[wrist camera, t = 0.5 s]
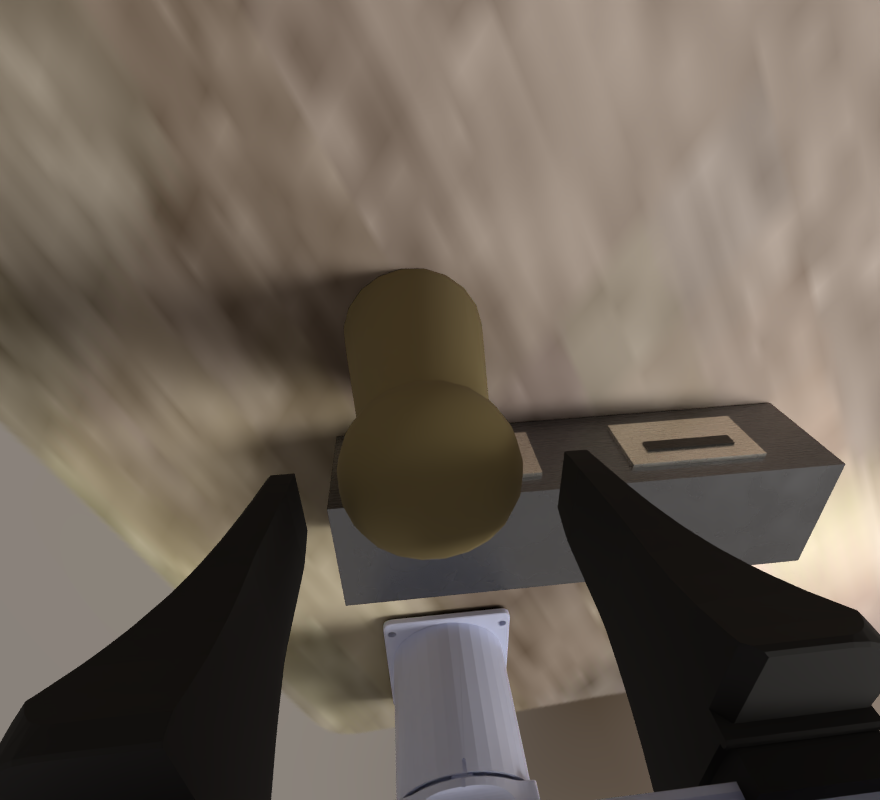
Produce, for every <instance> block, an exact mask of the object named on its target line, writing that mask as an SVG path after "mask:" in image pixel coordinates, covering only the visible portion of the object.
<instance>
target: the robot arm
mask: <svg viewBox="0 0 880 800" xmlns="http://www.w3.org/2000/svg"><path fill="white" fill-rule="evenodd" d="M558 511H559V515H560V518H561V522H562V525H563V529H564V532H565V535H566V538H567V541H568V544H569V546H570V548H571V551H572V553H573V555H574V557H575V560H576V562H577V564H578V567H579V569H580V571H581V573H582V576H583V578H584V580H585V582H586V584H587V587H588V589H589V591H590V593H591V596H592V598H593V600H594V602H595V605H596V607H597V609H598V611H599V613H600V616H601V618H602V621H603V623H604V626H605V629H606V631H607V634H608V637H609V640H610V643H611V646H612V649H613V652H614V655H615V658H616V661H617V664H618V668H619V671H620V674H621V677H622V680H623V684H624V687H625V690H626V693H627V697H628V700H629V703H630V706H631V710H632V713H633V717H634V720H635V724H636V727H637V731H638V734H639V738H640V741H641V745H642V748H643V752H644V756H645V760H646V763H647V767H648V771H649V775H650V779H651V783H652V787H653V790H654V792H653V793H645V794H637V795H629V796H622V797H614V798H606V799H599V800H880V731H879V730H880V716H879V714H878V713H877V712H876V711H875V709H874V708H873V707H872V706H871V705H872V703H873V702H874V701H875V699H876V698H877V697H878V696H879V694H880V634H879V633H878V632H877V631H876V630H875V629H874V628H873V627H872V625H871V624H870V623H869V622H868V621H867V620H866V619H865V618H864V617H863V616H862V615H861V614H860V613H859V612H858V611H857V610H855V609H852V608H849V607H847V606H844V605H842V604H839V603H836V602H834V601H831V600H829V599H826V598H823V597H821V596H818V595H816V594H813V593H811V592H808V591H806V590H803V589H801V588H798V587H796V586H794V585H792V584H790V583H787V582H785V581H783V580H781V579H778V578H776V577H774V576H772V575H770V574H768V573H766V572H763V571H761V570H759V569H757V568H755V567H753V566H751V565H749V564H747V563H746V562H744V561H742V560H740V559H738V558H736V557H734V556H732V555H730V554H729V553H727V552H725V551H723V550H721V549H720V548H718V547H716V546H714V545H713V544H711V543H709V542H708V541H706V540H705V539H703V538H701V537H700V536H698V535H696V534H695V533H693V532H692V531H690V530H688V529H687V528H685V527H684V526H682V525H681V524H679V523H678V522H676V521H675V520H674V519H672V518H671V517H670V516H668V515H667V514H665V513H664V512H663V511H661V510H660V509H658V508H657V507H656V506H654V505H653V504H652V503H650V502H649V501H648V500H646V499H645V498H644V497H643V496H641V495H640V494H639V493H638V492H636V491H635V490H634V489H633V488H631V487H630V486H629V485H628V484H627V483H625V482H624V481H623V480H622V479H621V478H619V477H618V476H617V475H616V474H615V473H614V472H612V471H611V470H610V469H609V468H608V467H607V466H605V465H604V464H603V463H602V462H601V461H600V460H599V459H597V458H596V457H595V456H594V455H593V454H591V453H590V452H589V451H588V450H575V451H565V452H564V460H563V468H562V476H561V484H560V492H559V500H558ZM306 541H307V526H306V522H305V518H304V513H303V509H302V505H301V500H300V496H299V491H298V487H297V483H296V478H295V474H284V475H272V476H270V477H269V478H268V479H267V480H266V482H265V483H264V485H263V486H262V487H261V489H260V490H259V491H258V493H257V494H256V496H255V497H254V498H253V500H252V501H251V502H250V504H249V505H248V506H247V508H246V509H245V510H244V512H243V513H242V514H241V516H240V517H239V518H238V519H237V521H236V522H235V523H234V524H233V526H232V527H231V528H230V529H229V531H228V532H227V533H226V535H225V536H224V537H223V538H222V539H221V541H220V542H219V543H218V544H217V545H216V546H215V547H214V549H213V550H212V551H211V552H210V553H209V554H208V555H207V556H206V558H205V559H204V560H203V561H202V562H201V563H200V564H199V565H198V566H197V568H196V569H195V570H194V571H193V572H192V573H191V574H190V575H189V576H188V577H187V578H186V579H185V580H184V581H183V582H182V583H181V584H180V585H179V586H178V587H177V588H176V589H175V590H174V591H173V592H172V593H171V594H170V595H169V596H167V597H166V598H165V599H164V600H163V601H162V602H161V603H159V604H158V605H157V606H156V607H155V608H154V609H152V610H151V611H150V612H149V613H148V614H147V615H145V616H144V617H143V618H142V619H141V620H140V621H138V622H137V623H136V624H135V625H134V626H133V627H131V628H130V629H129V630H128V631H126V632H125V633H124V634H122V635H121V636H120V637H118V638H117V639H116V640H115V641H113V642H112V643H111V644H109V645H108V646H107V647H105V648H104V649H103V650H101V651H100V652H99V653H97V654H96V655H95V656H93V657H92V658H90V659H89V660H88V661H86V662H85V663H83V664H82V665H80V666H79V667H77V668H76V669H75V670H73V671H72V672H70V673H68V674H67V675H65V676H64V677H62V678H61V679H59V680H58V681H56V682H55V683H53V684H52V685H50V686H49V687H47V688H46V689H44V690H43V691H41V692H40V693H38V694H37V695H35V696H34V697H32V698H30V699H29V700H27V701H26V702H25V703H24V705H23V706H22V708H21V709H20V711H19V712H18V714H17V715H16V717H15V719H14V720H13V722H12V723H11V725H10V727H9V729H8V730H7V732H6V734H5V736H4V737H3V739H2V741H1V742H0V800H271V793H272V780H273V768H274V756H275V745H276V744H275V743H276V735H277V734H276V733H277V724H278V714H279V704H280V695H281V687H282V678H283V669H284V662H285V656H286V650H287V645H288V640H289V636H290V631H291V626H292V622H293V617H294V612H295V608H296V603H297V599H298V594H299V589H300V584H301V580H302V575H303V570H304V564H305V553H306ZM509 621H510V616H509V612H508V610H507V609H504V608H499V609H490V610H480V611H470V612H461V613H451V614H441V615H431V616H422V617H412V618H402V619H392V620H388V621H386V622H385V623H384V624H383V631H384V639H385V646H386V653H387V660H388V667H389V674H390V682H391V689H392V696H393V703H394V705H395V742H396V788H397V790H396V792H397V800H540V796H539V792H538V787H537V783H536V781H535V780H530V779H529V774H528V769H527V764H526V760H525V755H524V750H523V746H522V741H521V736H520V731H519V727H518V722H517V718H516V713H515V708H514V703H513V699H512V694H511V689H510V685H509V680H508V675H507V670H506V664H507V650H508V635H509Z"/></svg>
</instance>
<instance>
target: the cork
mask: <svg viewBox="0 0 880 800" xmlns="http://www.w3.org/2000/svg"><path fill="white" fill-rule="evenodd" d="M344 338H345V348H346V355H347V361H348V367H349V373H350V380H351V386H352V392H353V398H354V405H355V411H356V419H355V420H354V421H353V422H352V424H351V426H350V427H349V429H348V431H347V432H346V434H345V437H344V440H343V444H342V447H341V451H340V454H339V458H338V465H337V477H338V486H339V494H340V497H341V501H342V505H343V507H344V509H345V511H346V513H347V514H348V516H349V518H350V520H351V521H352V523H353V525H354V526H355V527H356V528H357V529H358V530H359V531H360V532H361V534H363V535H364V536H365V537H366V538H367V539H368V540H370V541H371V542H372V543H373V544H374V545H376V546H377V547H378V548H380V549H383V550H385V551H387V552H390V553H392V554H394V555H397V556H400V557H406V558H412V559H419V560H429V559H445V558H449V557H452V556H456V555H459V554H463V553H466V552H469V551H471V550H473V549H475V548H476V547H478V546H480V545H482V544H483V543H485V542H487V541H489V540H490V539H491V538H492V537H493V536H494V535H495V534H496V533H497V532H498V531H499V530H500V529H501V528H502V527H503V526H504V525H505V524H506V522H507V520H508V518H509V516H510V514H511V512H512V511H513V509H514V507H515V505H516V503H517V501H518V499H519V497H520V494H521V486H522V478H523V459H522V456H521V452H520V449H519V445H518V442H517V438H516V436H515V433H514V431H513V429H512V426H511V425H510V424H509V423H508V421H507V420H506V419H505V418H504V416H503V415H502V414H501V412H500V411H499V410H498V409H497V407H496V406H495V405H494V404H493V403H492V402H491V401H490V400H489V399H488V388H487V377H486V367H485V356H484V345H483V334H482V324H481V321H480V317H479V314H478V310H477V307H476V304H475V303H474V302H473V300H472V299H471V297H470V296H469V295H468V293H467V292H466V290H465V289H464V288H463V287H462V286H460V285H459V284H457V283H456V282H455V281H453V280H452V279H450V278H449V277H448V276H446V275H443V274H440V273H437V272H433V271H430V270H427V269H400V270H397V271H394V272H391V273H388V274H385V275H382V276H379V277H378V278H376V279H375V280H374V281H372V282H371V283H370V284H368V285H367V286H366V287H364V288H363V289H362V290H361V291H360V292H359V294H358V295H357V297H356V298H355V300H354V301H353V303H352V304H351V306H350V307H349V309H348V313H347V317H346V321H345V325H344Z"/></svg>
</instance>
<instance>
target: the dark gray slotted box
mask: <svg viewBox="0 0 880 800" xmlns="http://www.w3.org/2000/svg"><path fill="white" fill-rule="evenodd" d="M509 424H510V425H511V426H512V429H513V431H514V433H515V436H516V438H517V442H518V445H519V449H520V452H521V456H522V459H523V478H522V486H521V494H520V497H519V499H518V501H517V503H516V505H515V507H514V509H513V511H512V512H511V514H510V516H509V518H508V520H507V522H506V524H505V525H504V526H503V527H502V528H501V529H500V530H499V531H498V532H497V533H496V534H495V535H494V536H493V537H492V538H491V539H490V540H489V541H487V542H485V543H483V544H482V545H480V546H478V547H476V548H475V549H473V550H471V551H469V552H466V553H463V554H459V555H456V556H452V557H449V558H445V559H429V560H419V559H412V558H406V557H400V556H397V555H394V554H392V553H390V552H387V551H385V550H383V549H380V548H378V547H377V546H376V545H374V544H373V543H372V542H371V541H370V540H368V539H367V538H366V537H365V536H364V535H363V534H361V532H360V531H359V530H358V529H357V528H356V527H355V526H354V525H353V523H352V521H351V520H350V518H349V516H348V514H347V513H346V511H345V509H344V507H343V505H342V501H341V497H340V494H339V486H338V477H337V465H338V458H339V454H340V451H341V447H342V444H343V440H344V437H345V436H342V437H337V438H336V446H335V453H334V461H333V469H332V476H331V484H330V492H329V499H328V507H327V511H328V516H329V522H330V527H331V532H332V537H333V542H334V547H335V552H336V558H337V563H338V568H339V573H340V578H341V583H342V588H343V594H344V599H345V604H346V606H348V605H358V604H368V603H377V602H387V601H397V600H407V599H417V598H427V597H437V596H447V595H457V594H467V593H477V592H487V591H497V590H507V589H517V588H527V587H537V586H547V585H557V584H567V583H577V582H585V580H584V578H583V576H582V573H581V571H580V569H579V567H578V564H577V562H576V560H575V557H574V555H573V553H572V551H571V548H570V546H569V544H568V541H567V538H566V535H565V532H564V529H563V525H562V522H561V518H560V515H559V511H558V500H559V492H560V484H561V476H562V468H563V460H564V452H565V451H575V450H588V451H589V452H590V453H591V454H593V455H594V456H595V457H596V458H597V459H599V460H600V461H601V462H602V463H603V464H604V465H605V466H607V467H608V468H609V469H610V470H611V471H612V472H614V473H615V474H616V475H617V476H618V477H619V478H621V479H622V480H623V481H624V482H625V483H627V484H628V485H629V486H630V487H631V488H633V489H634V490H635V491H636V492H638V493H639V494H640V495H641V496H643V497H644V498H645V499H646V500H648V501H649V502H650V503H652V504H653V505H654V506H656V507H657V508H658V509H660V510H661V511H663V512H664V513H665V514H667V515H668V516H670V517H671V518H672V519H674V520H675V521H676V522H678V523H679V524H681V525H682V526H684V527H685V528H687V529H688V530H690V531H692V532H693V533H695V534H696V535H698V536H700V537H701V538H703V539H705V540H706V541H708V542H709V543H711V544H713V545H714V546H716V547H718V548H720V549H721V550H723V551H725V552H727V553H729V554H730V555H732V556H734V557H736V558H738V559H740V560H742V561H744V562H746V563H747V564H749V565H756V564H766V563H776V562H786V561H796V560H798V559H799V557H800V555H801V553H802V551H803V549H804V547H805V545H806V543H807V541H808V539H809V537H810V535H811V533H812V531H813V529H814V527H815V525H816V523H817V521H818V519H819V517H820V515H821V513H822V511H823V508H824V506H825V504H826V502H827V500H828V498H829V496H830V494H831V492H832V490H833V488H834V486H835V484H836V482H837V480H838V478H839V476H840V474H841V472H842V470H843V468H844V466H845V463H843V462H842V461H841V460H840V459H839V458H837V457H836V456H835V455H834V454H832V453H831V452H830V451H829V450H827V449H826V448H825V447H824V446H823V445H821V444H820V443H819V442H818V441H816V440H815V439H814V438H813V437H811V436H810V435H809V434H808V433H807V432H805V431H804V430H803V429H802V428H800V427H799V426H798V425H797V424H795V423H794V422H793V421H792V420H791V419H789V418H788V417H787V416H786V415H784V414H783V413H782V412H781V411H779V410H778V409H777V408H776V407H775V406H773V405H772V404H771V403H763V404H751V405H738V406H725V407H712V408H699V409H687V410H674V411H661V412H648V413H636V414H623V415H610V416H597V417H585V418H572V419H559V420H546V421H533V422H521V423H509Z"/></svg>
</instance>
